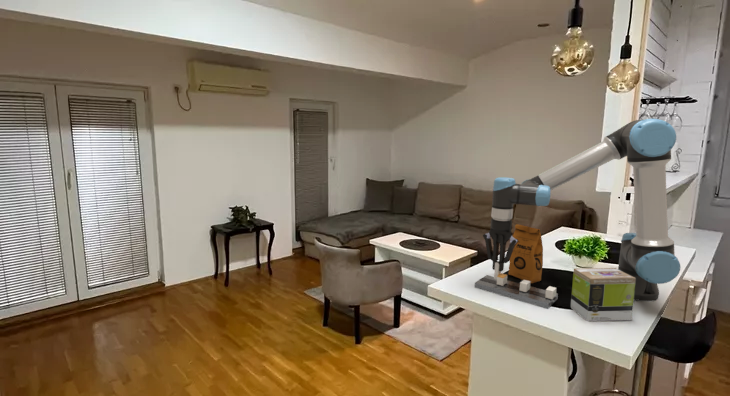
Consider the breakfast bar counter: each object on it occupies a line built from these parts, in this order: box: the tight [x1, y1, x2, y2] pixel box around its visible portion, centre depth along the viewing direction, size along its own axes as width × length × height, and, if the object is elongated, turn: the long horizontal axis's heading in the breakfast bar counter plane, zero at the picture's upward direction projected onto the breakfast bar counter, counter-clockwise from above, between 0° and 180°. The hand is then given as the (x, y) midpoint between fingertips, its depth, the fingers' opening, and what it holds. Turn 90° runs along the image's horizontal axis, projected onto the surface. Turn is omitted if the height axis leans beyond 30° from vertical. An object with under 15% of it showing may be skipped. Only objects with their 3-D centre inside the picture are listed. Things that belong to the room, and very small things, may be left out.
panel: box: [474, 274, 559, 310], centre depth 145 cm, size 28×11×2 cm, turn 49°
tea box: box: [570, 267, 636, 322], centre depth 128 cm, size 15×10×15 cm
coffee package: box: [507, 223, 544, 284], centre depth 159 cm, size 10×12×22 cm
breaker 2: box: [519, 280, 531, 292], centre depth 143 cm, size 2×4×3 cm, turn 139°
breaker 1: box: [497, 272, 508, 286], centre depth 148 cm, size 2×4×3 cm, turn 139°
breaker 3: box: [545, 285, 557, 299], centre depth 137 cm, size 2×4×3 cm, turn 139°
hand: (497, 278), depth 149 cm, fingers closed
